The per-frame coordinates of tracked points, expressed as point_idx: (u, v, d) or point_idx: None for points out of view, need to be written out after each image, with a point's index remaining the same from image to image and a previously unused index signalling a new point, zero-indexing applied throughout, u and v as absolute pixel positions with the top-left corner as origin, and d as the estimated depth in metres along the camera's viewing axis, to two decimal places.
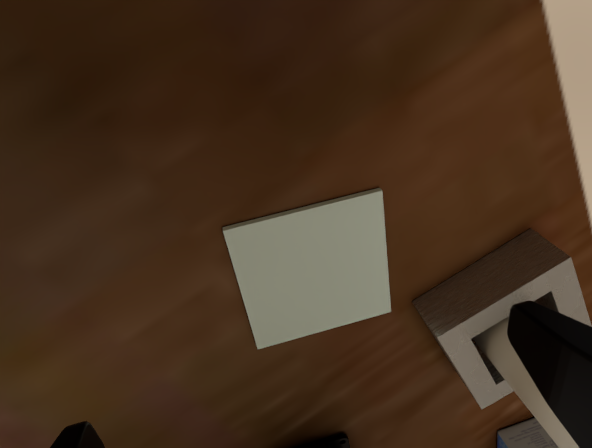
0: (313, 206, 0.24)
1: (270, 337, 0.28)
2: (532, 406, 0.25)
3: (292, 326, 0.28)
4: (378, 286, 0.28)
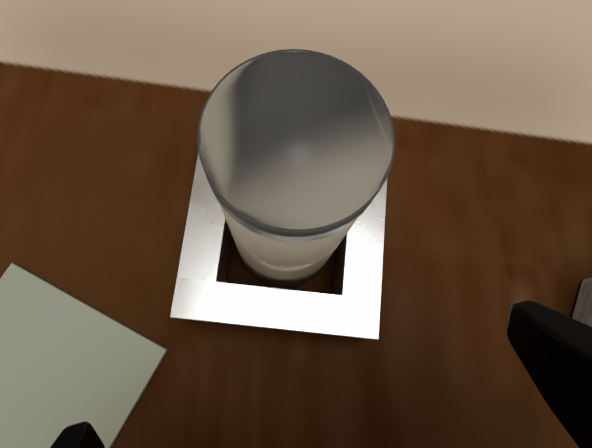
0: None
1: None
2: (257, 256, 0.15)
3: None
4: (116, 339, 0.22)
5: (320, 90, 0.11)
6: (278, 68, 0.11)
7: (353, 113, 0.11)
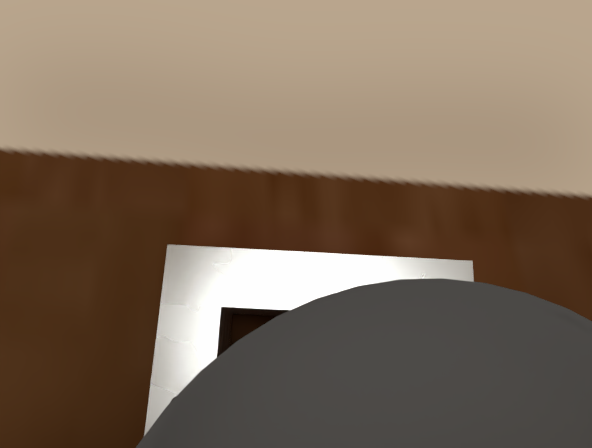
0: None
1: None
2: None
3: None
4: None
5: (518, 447, 0.03)
6: (355, 365, 0.03)
7: None
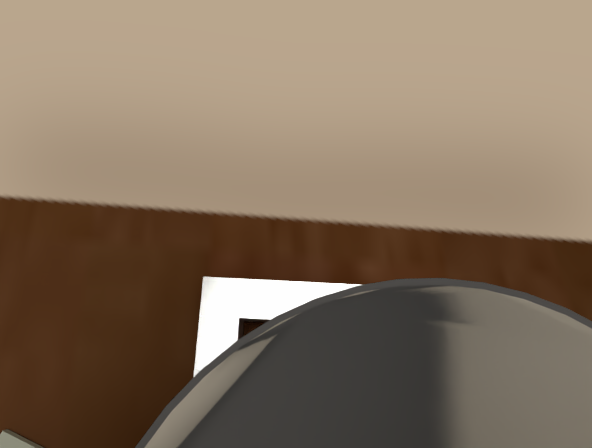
0: None
1: None
2: None
3: None
4: None
5: (518, 446, 0.03)
6: (354, 364, 0.03)
7: None
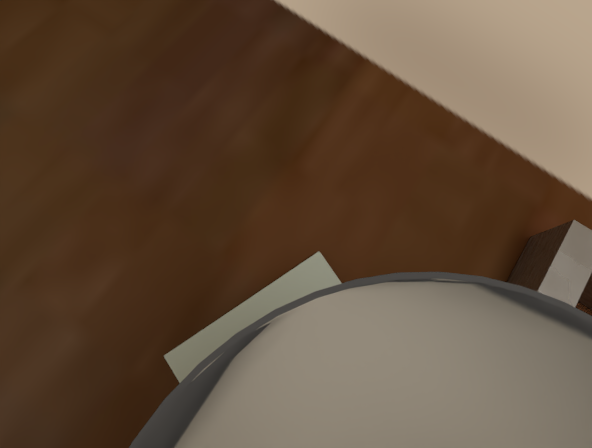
0: (254, 295, 0.22)
1: None
2: None
3: None
4: None
5: (516, 439, 0.03)
6: (353, 357, 0.03)
7: None
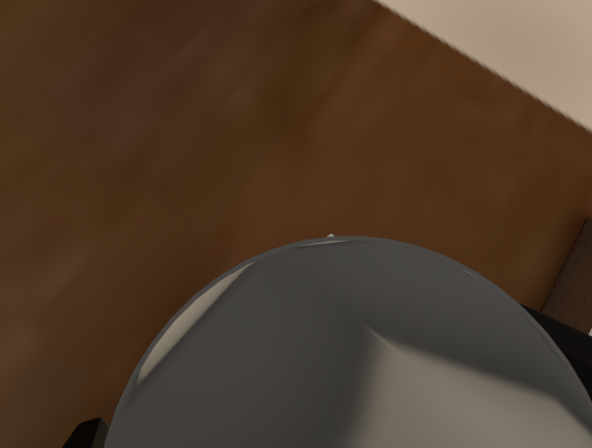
0: None
1: None
2: None
3: None
4: None
5: (406, 344, 0.05)
6: (297, 292, 0.05)
7: (497, 405, 0.04)
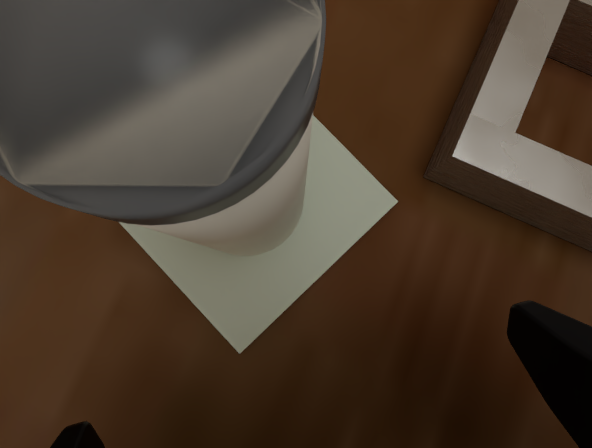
0: None
1: (245, 324, 0.18)
2: (181, 238, 0.10)
3: (266, 290, 0.18)
4: (346, 172, 0.19)
5: None
6: None
7: None
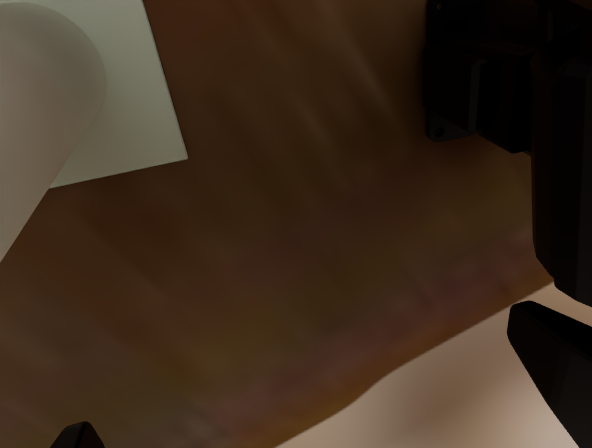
0: None
1: (165, 141, 0.19)
2: None
3: (144, 107, 0.18)
4: None
5: None
6: None
7: None
